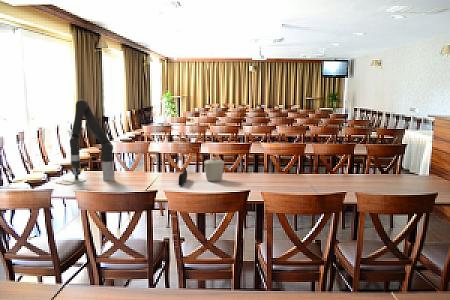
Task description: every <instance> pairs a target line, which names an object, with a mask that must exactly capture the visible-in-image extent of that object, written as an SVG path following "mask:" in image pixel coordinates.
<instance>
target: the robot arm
mask: <svg viewBox="0 0 450 300" xmlns="http://www.w3.org/2000/svg"><path fill="white" fill-rule="evenodd" d="M83 117H84V118H85V121H86V124H87V126H88V128H89V130H90V131H91V132H90V133H92V135H93V136H94V137H95V138H96V139H97V140H98V142H99V143H100V145H101V147H100V153H101V162H102V165H101V167H102V181H104V182H113V181H115V177H116V175H115V169H114V158H113V150H114V145H113V144H112V142H111V140H109V138H108V137H107V135H106V133H105V131H104V130H103V129H104V128H102V126H101V124H100V122H99V121H98V119H97V118H96V116H95V114H94V113H93V111H92V109H91V108H90V105H89V102H87V101H86V100H85V99H79V100H77V101H76V102H75V115H74V119H73V120H74V121H73V123H72V130H71V136H70V140H69V147H70V163H71V164H70V166H71V168H70V171H71V173H72V175H74V178H75V180H78V179H79V175H81V173H82V171H83V170H82V169H81V167H80V165H81V156H80V155H81V154H80V148H79V142H80V136H81V133H82V128H83Z"/></svg>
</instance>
